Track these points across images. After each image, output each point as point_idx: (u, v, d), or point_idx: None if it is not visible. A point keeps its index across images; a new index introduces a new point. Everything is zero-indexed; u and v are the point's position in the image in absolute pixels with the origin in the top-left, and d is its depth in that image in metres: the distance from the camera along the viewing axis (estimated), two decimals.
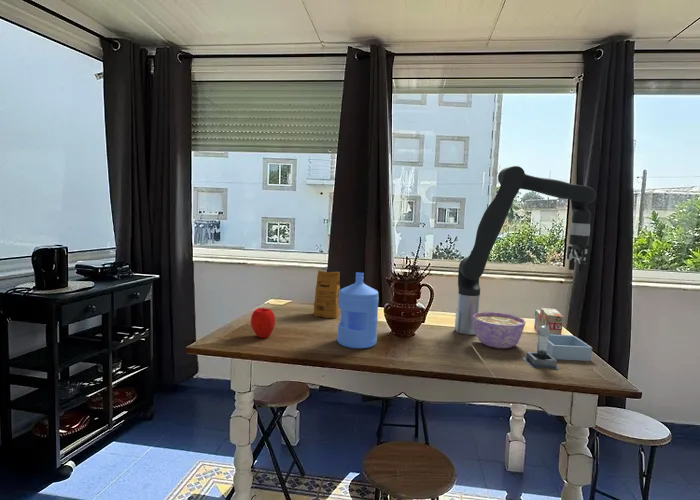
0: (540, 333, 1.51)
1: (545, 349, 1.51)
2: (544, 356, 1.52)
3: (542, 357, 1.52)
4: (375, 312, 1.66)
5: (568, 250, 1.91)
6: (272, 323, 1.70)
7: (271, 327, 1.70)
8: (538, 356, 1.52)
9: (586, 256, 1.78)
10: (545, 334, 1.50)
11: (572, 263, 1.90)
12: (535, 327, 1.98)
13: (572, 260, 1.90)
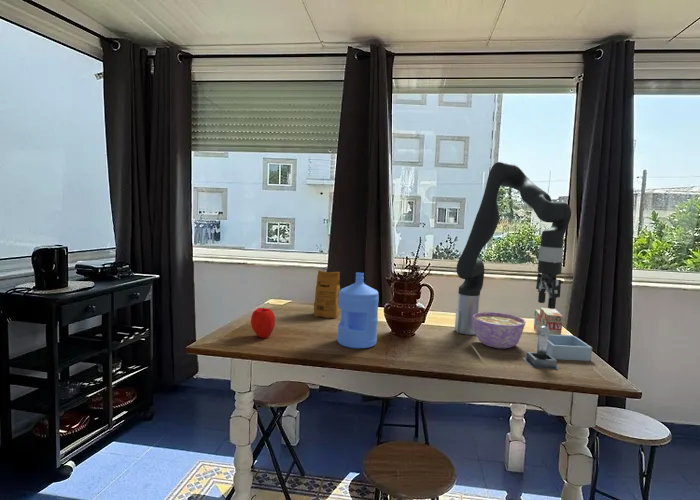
0: (540, 333, 1.51)
1: (545, 349, 1.51)
2: (544, 356, 1.52)
3: (542, 357, 1.52)
4: (375, 312, 1.66)
5: (538, 278, 1.56)
6: (272, 323, 1.70)
7: (271, 327, 1.70)
8: (538, 356, 1.52)
9: (557, 288, 1.43)
10: (545, 334, 1.50)
11: (542, 295, 1.55)
12: (535, 327, 1.99)
13: (542, 291, 1.55)
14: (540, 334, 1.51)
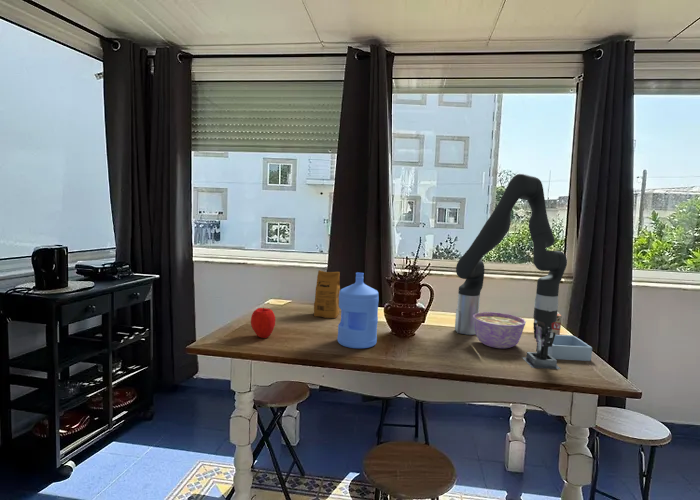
0: None
1: None
2: None
3: (542, 357, 1.52)
4: (375, 312, 1.66)
5: (534, 327, 1.57)
6: (272, 323, 1.70)
7: (271, 327, 1.70)
8: (538, 356, 1.52)
9: (550, 340, 1.47)
10: None
11: None
12: None
13: None
14: None
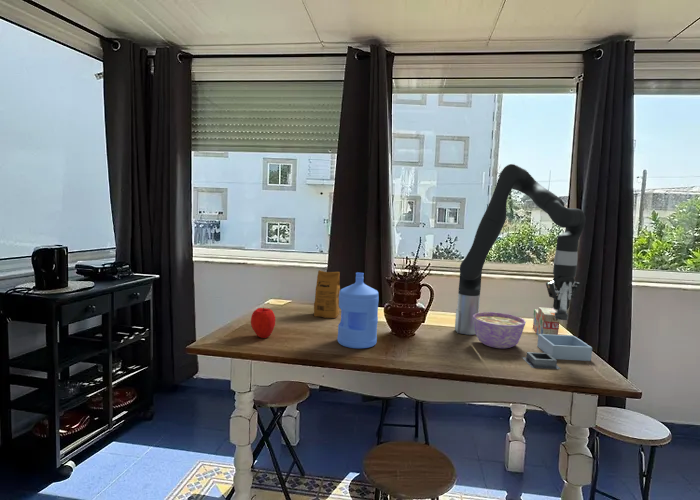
0: None
1: (561, 304, 1.57)
2: (560, 311, 1.58)
3: (558, 311, 1.58)
4: (375, 312, 1.66)
5: (572, 286, 1.61)
6: (272, 323, 1.70)
7: (271, 327, 1.70)
8: (557, 311, 1.60)
9: (550, 291, 1.57)
10: None
11: None
12: (534, 326, 1.99)
13: None
14: None
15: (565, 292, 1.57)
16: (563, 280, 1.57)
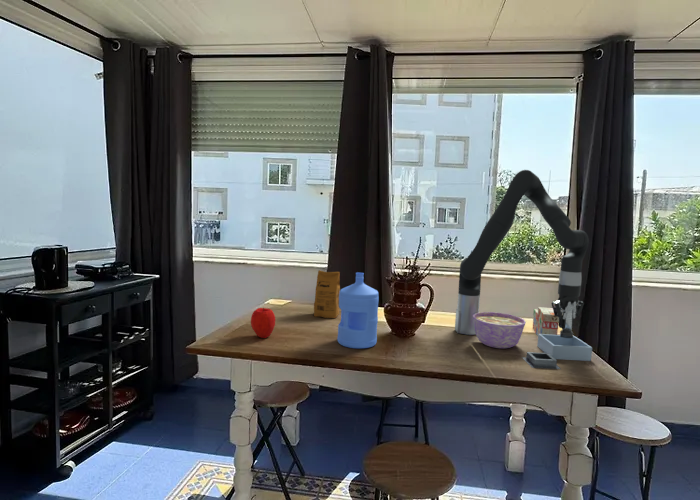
0: None
1: (566, 323, 1.62)
2: (565, 329, 1.62)
3: (563, 330, 1.63)
4: (375, 312, 1.66)
5: (576, 305, 1.66)
6: (272, 323, 1.70)
7: (271, 327, 1.70)
8: (562, 329, 1.64)
9: (556, 310, 1.61)
10: None
11: None
12: (533, 326, 2.00)
13: None
14: None
15: (570, 311, 1.61)
16: (568, 300, 1.61)
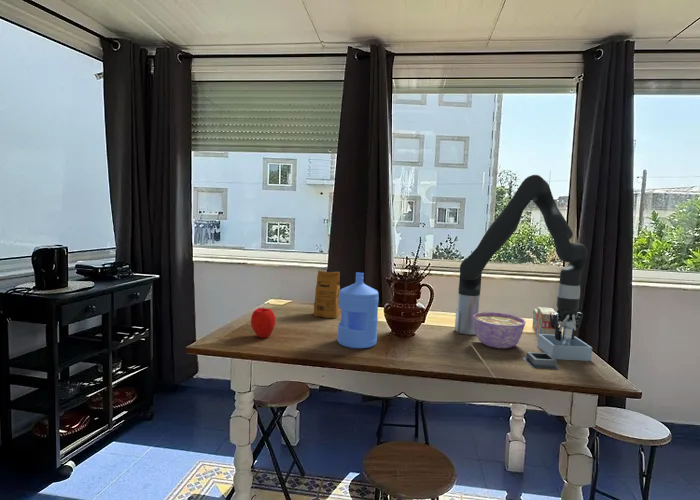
0: None
1: (565, 340, 1.62)
2: None
3: None
4: (375, 312, 1.66)
5: (575, 316, 1.66)
6: (272, 323, 1.70)
7: (271, 327, 1.70)
8: None
9: (553, 322, 1.61)
10: (565, 326, 1.61)
11: None
12: (533, 326, 2.00)
13: None
14: None
15: (570, 329, 1.61)
16: (566, 313, 1.62)
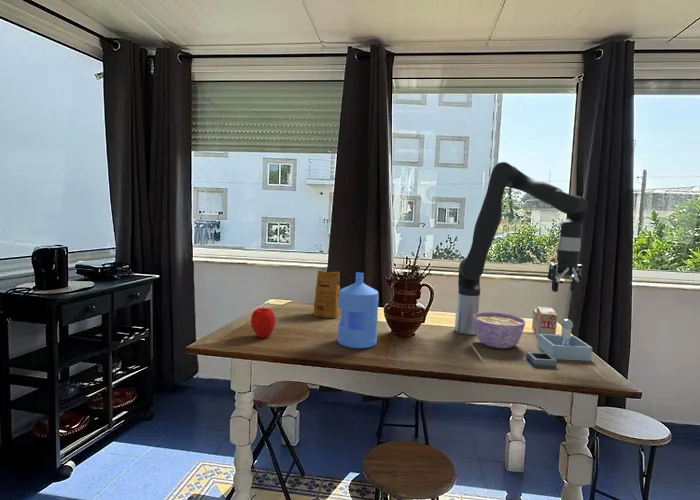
0: (561, 324, 1.64)
1: (564, 340, 1.62)
2: None
3: None
4: (375, 312, 1.66)
5: None
6: (272, 323, 1.70)
7: (271, 327, 1.70)
8: None
9: (551, 272, 1.61)
10: (563, 325, 1.62)
11: (573, 283, 1.64)
12: (533, 326, 2.00)
13: (574, 280, 1.64)
14: (561, 325, 1.64)
15: (569, 329, 1.62)
16: (566, 265, 1.61)
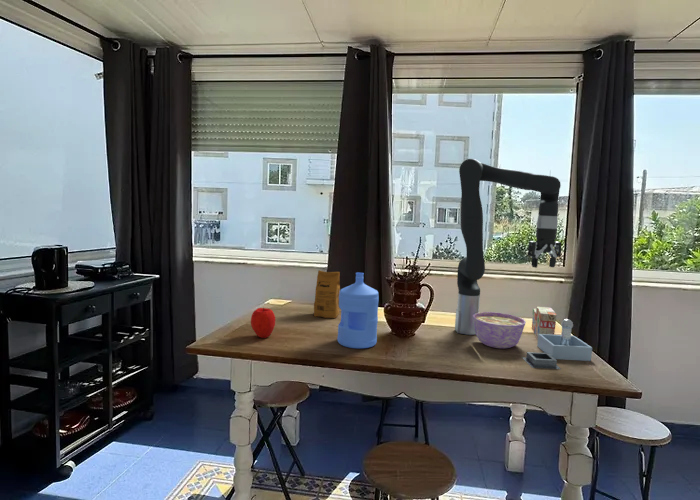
0: (561, 324, 1.64)
1: (564, 340, 1.62)
2: None
3: None
4: (375, 312, 1.66)
5: None
6: (272, 323, 1.70)
7: (271, 327, 1.70)
8: None
9: (531, 249, 1.71)
10: (563, 325, 1.62)
11: (551, 260, 1.75)
12: (532, 326, 2.01)
13: (552, 256, 1.75)
14: (561, 325, 1.64)
15: (569, 329, 1.62)
16: (545, 242, 1.72)
